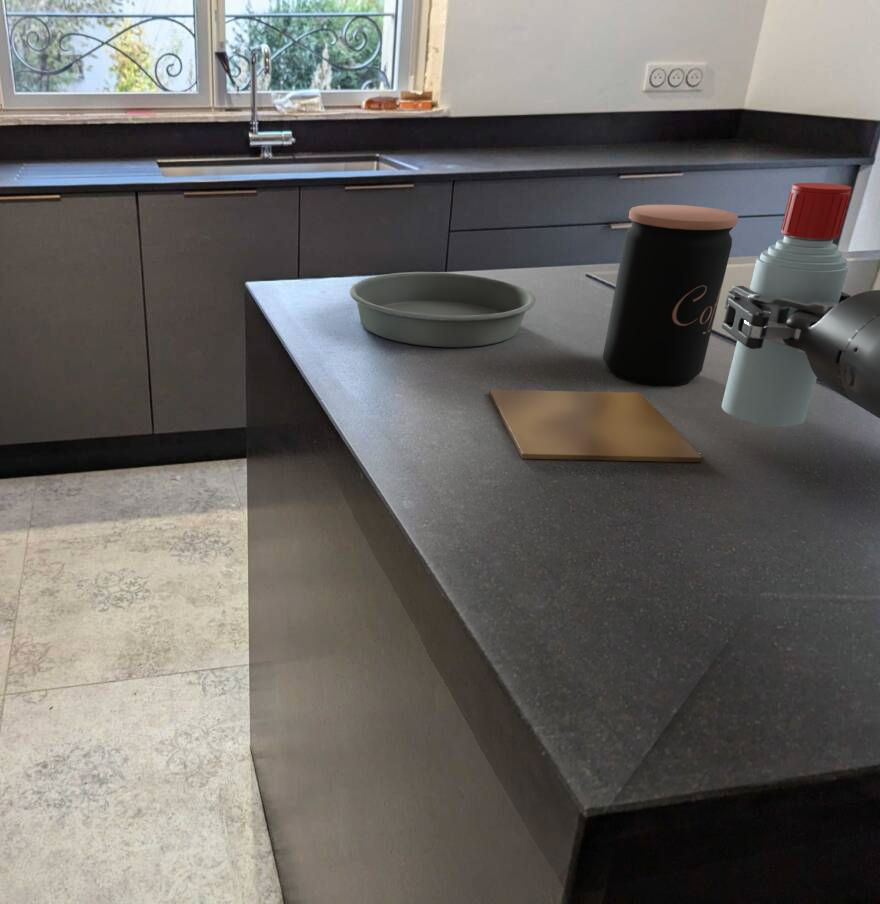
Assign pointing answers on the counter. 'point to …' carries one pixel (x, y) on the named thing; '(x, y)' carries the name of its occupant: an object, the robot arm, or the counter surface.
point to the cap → (816, 210)
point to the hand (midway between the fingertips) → (776, 297)
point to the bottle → (776, 365)
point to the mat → (589, 426)
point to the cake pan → (441, 308)
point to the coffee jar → (667, 292)
